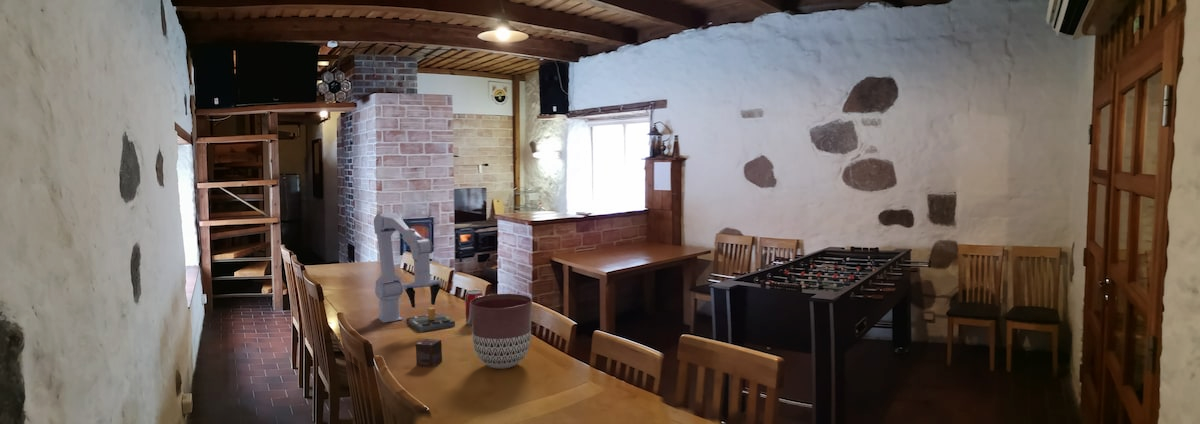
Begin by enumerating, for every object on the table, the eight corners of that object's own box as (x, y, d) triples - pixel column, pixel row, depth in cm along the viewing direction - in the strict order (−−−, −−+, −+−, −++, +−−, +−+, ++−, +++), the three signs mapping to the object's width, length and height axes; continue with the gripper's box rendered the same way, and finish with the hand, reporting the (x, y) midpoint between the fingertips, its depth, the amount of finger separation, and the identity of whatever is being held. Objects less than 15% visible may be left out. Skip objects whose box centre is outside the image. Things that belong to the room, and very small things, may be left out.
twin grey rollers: (405, 321, 256) (405, 317, 256) (436, 316, 263) (436, 313, 263) (408, 323, 253) (408, 319, 253) (439, 318, 260) (439, 314, 260)
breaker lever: (427, 318, 251) (427, 307, 251) (432, 317, 252) (432, 307, 252) (430, 320, 249) (429, 309, 248) (435, 319, 250) (434, 308, 249)
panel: (408, 323, 253) (408, 317, 252) (442, 318, 260) (442, 312, 260) (420, 332, 241) (419, 325, 241) (455, 326, 249) (454, 319, 249)
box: (442, 361, 207) (442, 339, 207) (432, 367, 202) (431, 345, 201) (426, 359, 209) (426, 338, 209) (416, 365, 204) (415, 343, 203)
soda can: (486, 321, 256) (485, 289, 255) (481, 326, 249) (480, 293, 247) (469, 321, 256) (468, 289, 255) (463, 325, 249) (462, 293, 248)
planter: (515, 380, 190) (513, 310, 188) (459, 372, 197) (457, 305, 195) (543, 360, 208) (542, 296, 206) (491, 353, 215) (489, 291, 213)
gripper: (406, 274, 233) (407, 310, 234) (444, 270, 241) (445, 305, 242) (400, 271, 239) (401, 306, 240) (437, 267, 247) (438, 301, 248)
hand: (423, 305), depth 241 cm, fingers open, 7 cm apart
